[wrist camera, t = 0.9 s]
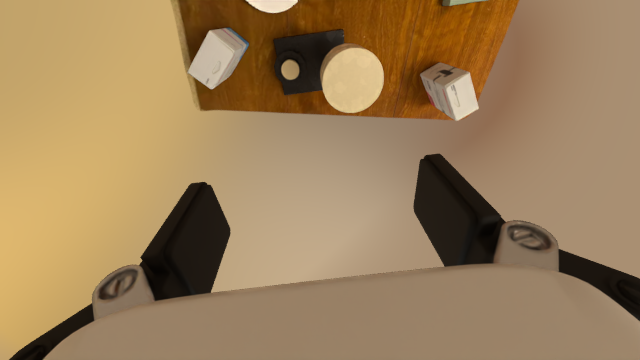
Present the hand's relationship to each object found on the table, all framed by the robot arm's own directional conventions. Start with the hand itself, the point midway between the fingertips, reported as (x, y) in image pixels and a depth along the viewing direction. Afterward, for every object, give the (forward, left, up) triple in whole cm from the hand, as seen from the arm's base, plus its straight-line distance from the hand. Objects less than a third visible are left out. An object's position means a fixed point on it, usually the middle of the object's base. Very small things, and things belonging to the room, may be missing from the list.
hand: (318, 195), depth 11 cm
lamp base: (+2, +1, -49) cm, 49 cm away
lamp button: (+2, -4, -46) cm, 46 cm away
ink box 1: (-2, -16, -49) cm, 52 cm away
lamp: (+2, +6, -46) cm, 46 cm away
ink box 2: (+10, +29, -49) cm, 58 cm away
